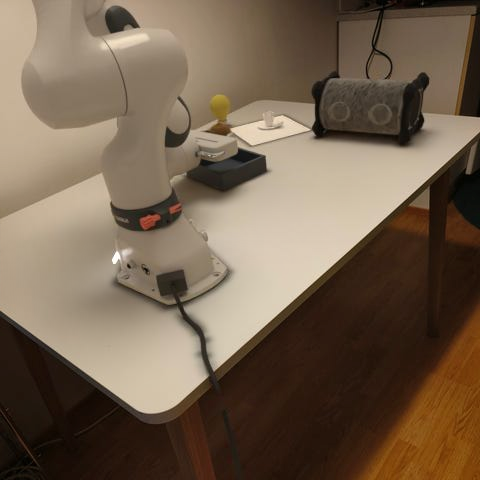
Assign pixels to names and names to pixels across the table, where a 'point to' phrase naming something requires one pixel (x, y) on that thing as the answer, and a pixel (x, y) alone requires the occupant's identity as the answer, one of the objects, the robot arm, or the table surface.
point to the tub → (230, 169)
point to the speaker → (369, 105)
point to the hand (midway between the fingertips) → (222, 133)
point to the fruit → (220, 129)
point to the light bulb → (220, 107)
